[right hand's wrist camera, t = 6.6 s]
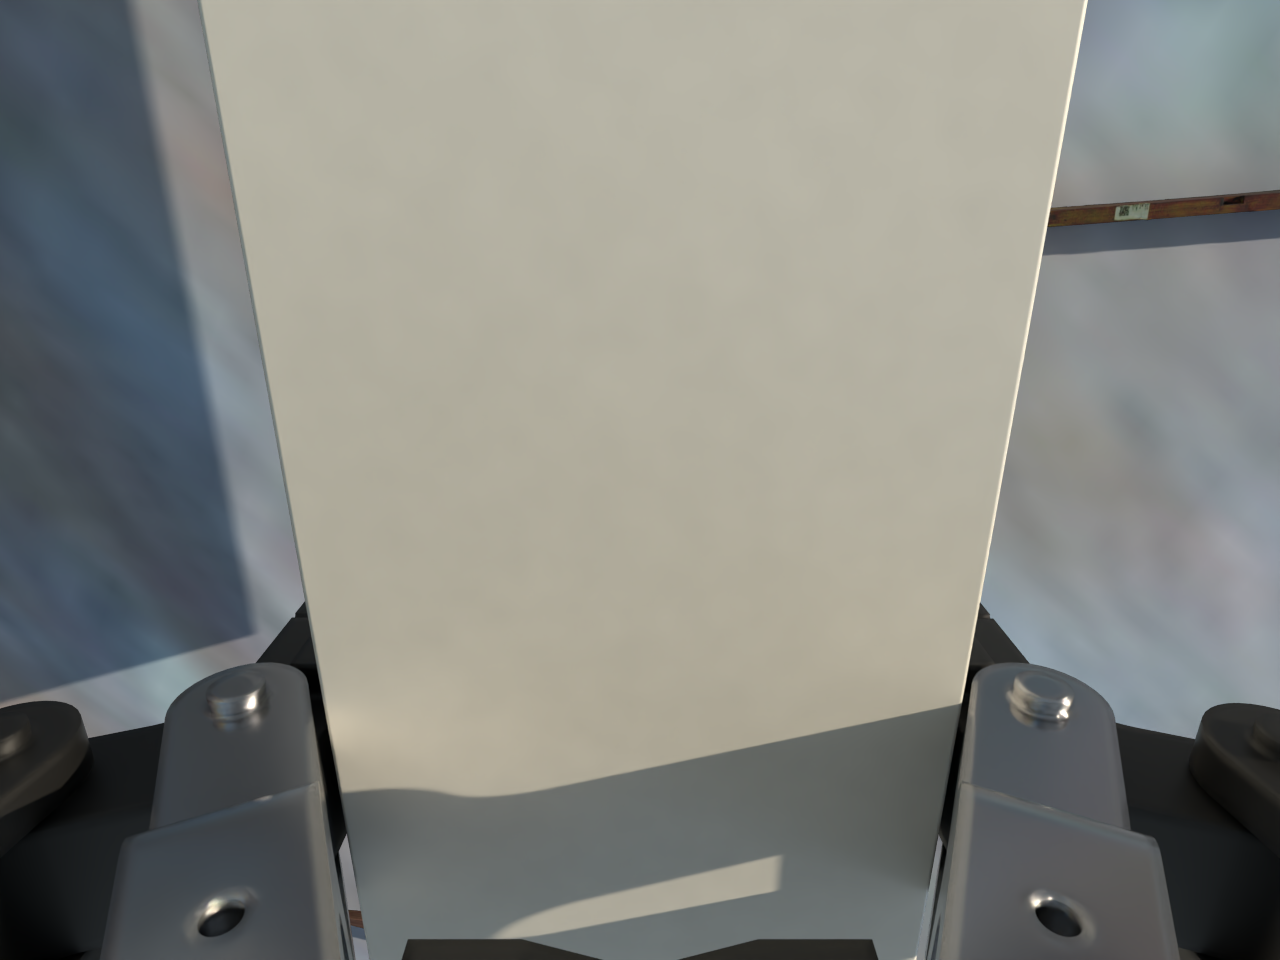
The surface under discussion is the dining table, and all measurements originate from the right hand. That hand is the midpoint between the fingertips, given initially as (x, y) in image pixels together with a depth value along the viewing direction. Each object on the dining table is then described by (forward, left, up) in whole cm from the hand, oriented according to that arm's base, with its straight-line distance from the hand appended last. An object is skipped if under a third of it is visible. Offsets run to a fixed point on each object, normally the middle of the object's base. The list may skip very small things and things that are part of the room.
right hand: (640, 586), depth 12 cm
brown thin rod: (+10, -16, -12) cm, 23 cm away
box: (+9, +2, -7) cm, 12 cm away
